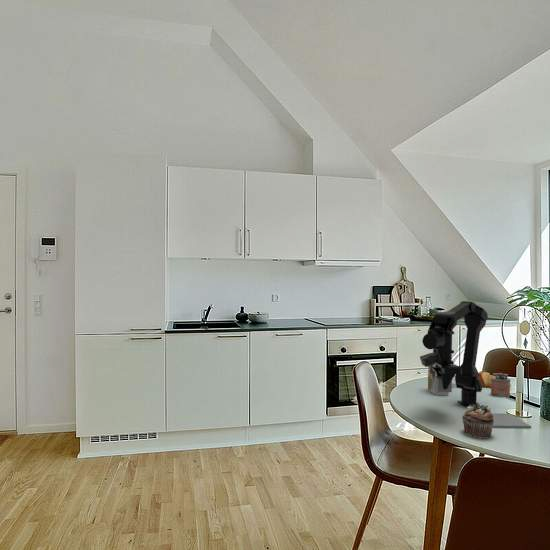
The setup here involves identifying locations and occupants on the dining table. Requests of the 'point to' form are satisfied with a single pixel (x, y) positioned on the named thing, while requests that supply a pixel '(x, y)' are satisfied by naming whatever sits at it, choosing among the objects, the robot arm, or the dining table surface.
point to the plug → (439, 385)
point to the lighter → (500, 385)
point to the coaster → (508, 421)
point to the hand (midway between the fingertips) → (442, 387)
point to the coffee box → (431, 382)
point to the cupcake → (478, 420)
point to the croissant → (486, 379)
